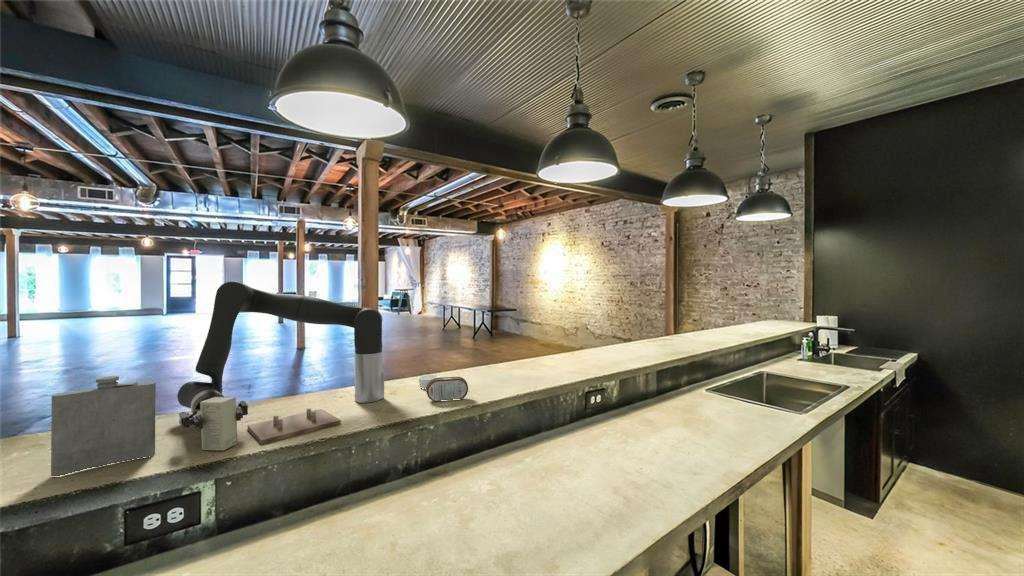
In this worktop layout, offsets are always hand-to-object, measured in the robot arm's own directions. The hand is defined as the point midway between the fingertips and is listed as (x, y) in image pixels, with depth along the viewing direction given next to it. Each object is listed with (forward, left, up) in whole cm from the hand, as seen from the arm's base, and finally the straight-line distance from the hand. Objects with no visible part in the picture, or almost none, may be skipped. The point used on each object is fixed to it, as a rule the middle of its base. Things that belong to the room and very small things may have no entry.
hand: (220, 420), depth 91 cm
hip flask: (+19, -10, -8) cm, 23 cm away
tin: (-64, +8, -8) cm, 65 cm away
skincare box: (0, -2, -7) cm, 8 cm away
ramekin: (-70, -12, -8) cm, 71 cm away
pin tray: (-18, -4, -7) cm, 20 cm away
